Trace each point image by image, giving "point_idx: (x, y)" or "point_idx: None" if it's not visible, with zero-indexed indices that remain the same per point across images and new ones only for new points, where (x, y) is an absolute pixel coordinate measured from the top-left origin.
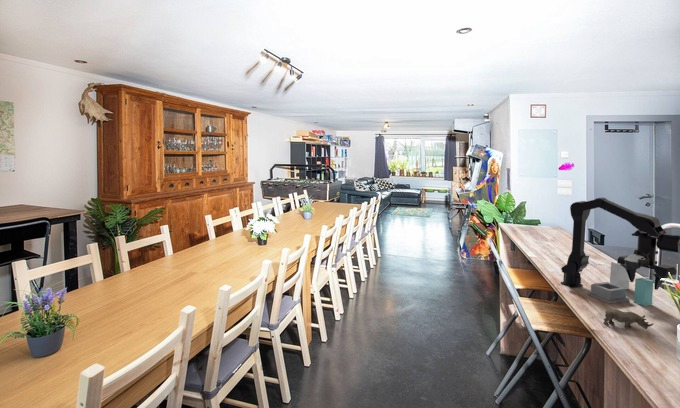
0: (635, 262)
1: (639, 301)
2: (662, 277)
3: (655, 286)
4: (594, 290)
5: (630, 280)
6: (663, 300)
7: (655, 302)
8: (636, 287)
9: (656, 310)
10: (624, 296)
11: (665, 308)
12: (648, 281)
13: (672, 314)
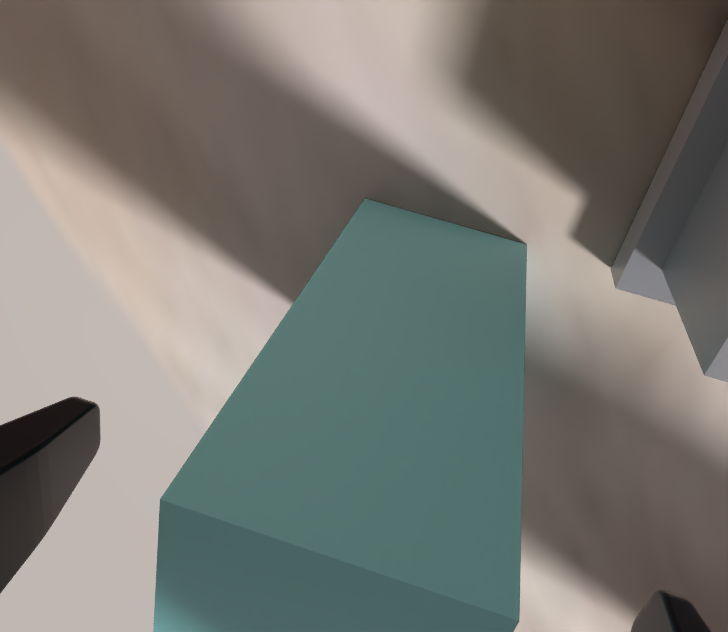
0: None
1: (433, 238)
2: None
3: (13, 439)
4: None
5: (697, 626)
6: None
7: None
8: (484, 403)
9: (192, 149)
10: (687, 244)
11: (190, 320)
12: (162, 581)
13: (36, 166)
